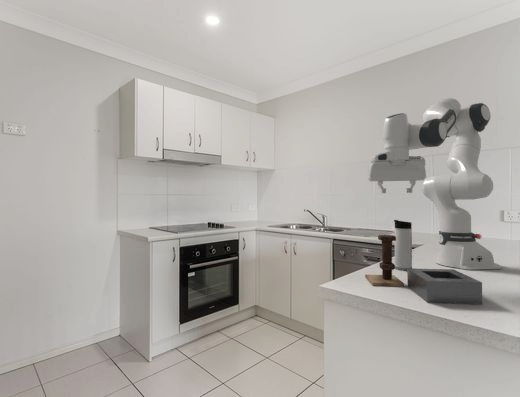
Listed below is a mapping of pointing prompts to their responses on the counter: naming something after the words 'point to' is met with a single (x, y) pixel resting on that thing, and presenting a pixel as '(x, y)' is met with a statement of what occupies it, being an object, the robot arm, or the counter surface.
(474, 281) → the socket block
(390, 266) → the bolt
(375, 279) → the walnut pad
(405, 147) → the robot arm
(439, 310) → the counter surface
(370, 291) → the counter surface
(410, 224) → the travel mug
